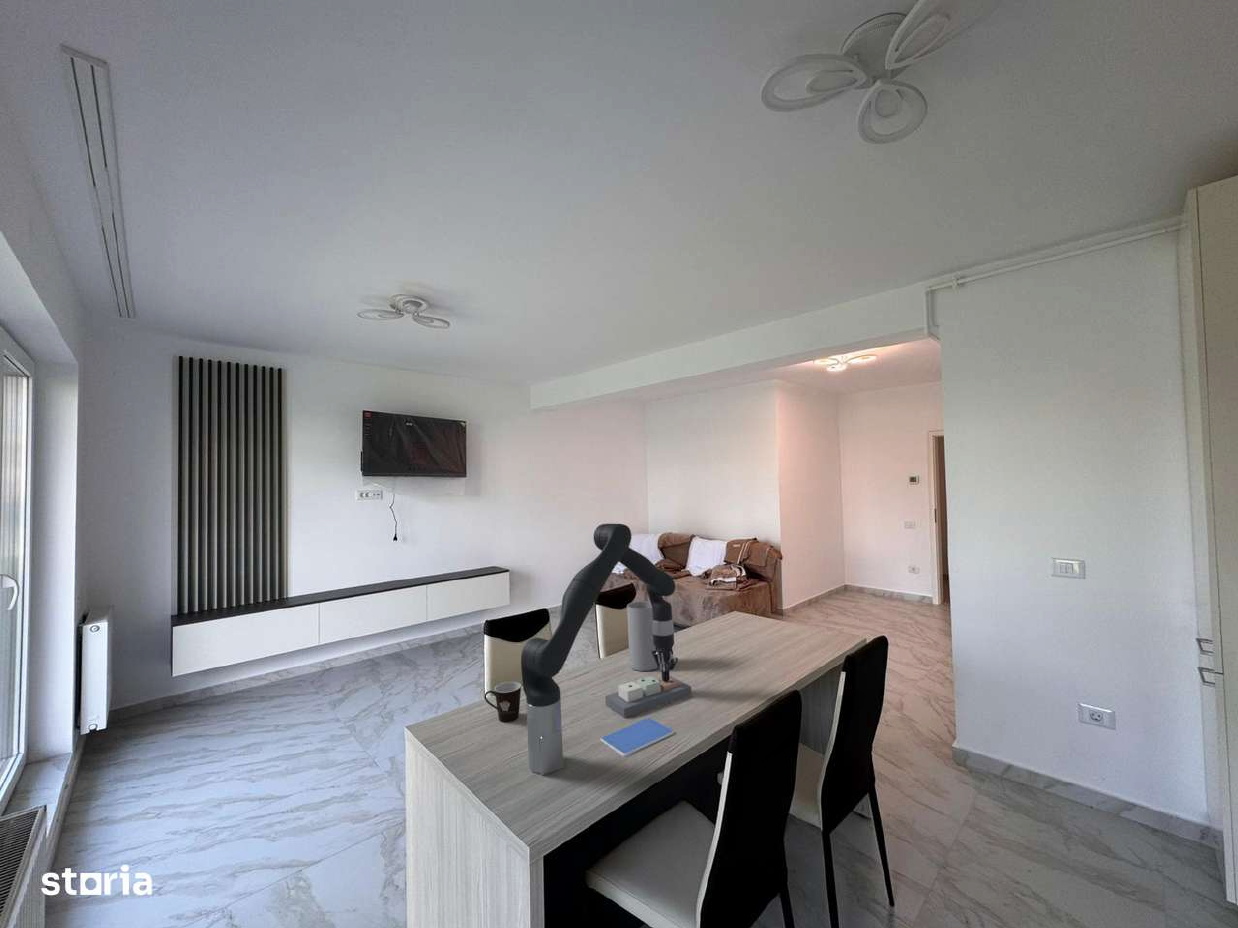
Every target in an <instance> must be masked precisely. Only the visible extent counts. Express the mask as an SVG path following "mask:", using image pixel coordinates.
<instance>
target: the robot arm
mask: <svg viewBox="0 0 1238 928" xmlns="http://www.w3.org/2000/svg"><path fill="white" fill-rule="evenodd" d="M631 541H632V531H631V528H630V527H629V526H628V525H626V524H623V523H602V524H600V525H598V526H597V527H596V528H595V530H594V532H593V543H594V545H595V546H596V548H597V549H598V550H600V551H601V552H600V553H599V554H598V555H597V557H595V559H593V560H592V561H590V562H589V563H588V564H587V565H586V566H584V567H583V568H581V570H579V571H578V572H577V573H576V574H575V575H574V577H573V578H572V580H571V581H570V583H569V584H568V586H567V588H566V590H565V591H564V594H563V596H562V599H561V600H562V601H561V609H560V610H561V613H560V619H559V622H558V625H557V626H556V629H555V631H554V633H553V634H552V635H551V637H550V639H545V638H543V637H542V638H541V637H533V638H531V639H529V640H528V641H527V642H526V643H525V644H524V646H523V648H522V651H521V656H520V657H521V658H520V667H521V668H520V669H521V680H522V689H523V693H524V694H525V699H526V722H527V723H526V724H527V725H526V727H527V750H528V768H529V770H530V771H532V772H534V773H536V774H540V775H541V776H544V775H547V774H550V773H552V772H555V771H558V770H560V769H563V768H564V753H563V752H564V749H563V730H562V729H563V727H562V703H561V702H562V701H561V688H560V686H559V685H558V683H557V682H556V681H555V680H554V677H555V676H557V675H558V674H559V673H560V671H561V670H562V669H563V667H564V665H565V663H566V661H567V659H568V657H569V655H570V653H571V650H572V647H573V645H574V642H575V640H576V638H577V636H578V633H579V631H580V629H581V628H582V626H583V625H584V622H585V620H586V618H587V617H588V614H589V613H590V611H591V610H592V608H593V606H594V604H595V603H596V600H597V599H598V597H599V595H600V593H601V591H602V589H603V587H604V586H605V584H606V583H607V581H608V579H609V578H610V576H611V574H612V572H613V570H615V567H616V566H617V565H618V563H620V564H621V565H622V566H624V567H625V568H627V569H628V570H629V571H630V572H631V573H632V574H633V575H635V576H636V577H637V578H638V579H639V580H640V581H641V582H642V583H644V584H645V585H646V587H645V588H646V592H647V597H648V598H649V602H650V603H651V606H652V614H653V624H652V627H653V644H654V646H655V650H654V651H652V654H653V657H654V659H655V662H656V664H657V666H658V668H659V669H660V671H661V679H662V681H664V682H667V681H669V679H670V676H671V675H670V671H673V670H674V669H675V666H677V663H678V661H679V660H678V657H675V656H674V650H673V647H674V645H675V634H674V633H675V631H674V630H675V629H674V621H673V610H672V609H673V607H672V604H671V603H670V602H669V601H667V600H665V599H664V597H671V596H672V595H673V594H674V593H675V591H676V583H675V580H674V579H673V577H672V576H671V575H670V574H668V573H666V572H665V571H663V570H662V569H659V568H658V567H656V565H655V564H654V563H653V562H652V561H651V560H650V559H649V558H648V557H646V556H645V555H643V554H641V553H639V552H638V551H636V550H634V549H632V548H630V545H631Z"/></svg>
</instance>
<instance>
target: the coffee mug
mask: <svg viewBox="0 0 1238 928" xmlns="http://www.w3.org/2000/svg"><path fill="white" fill-rule="evenodd" d="M521 692H522V684H521V683H520V682H517V681H506V682H501V683H500V684H498V685H496V686H495V687H494V690H488V691H486V692H485V693H484V701H486V703H488V704H487V705H489V706H491V707H492V708H493V709H495V710H496V711H497V716H498V721H500V722H501V723H503V724H504V723H513V722H515V721H517V720H518V719H519V716H520V707H521V706H520V704H521V703H520V702H521ZM488 694H493V696H494V697H495V701H496V703H495V704H496V705H495V704H493V703H491V702H490V701H489V700H488V699H487V695H488Z"/></svg>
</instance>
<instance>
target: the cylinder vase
mask: <svg viewBox="0 0 1238 928" xmlns="http://www.w3.org/2000/svg"><path fill="white" fill-rule="evenodd" d="M626 612H627V631H628V635H627V636H628V653H629V656H628V657H629V667H630V668H631V669H632V670H634V671H637V672H649V671H654V670H656V669H658V668H659V667H658V666H657V664H656V662H655V659H654V657H653V654H652V651H654V650H655V646H654V644H653V627H652V624H653V614H652V606H651V603H650V601H634V602H630V603H628V604H627V605H626Z"/></svg>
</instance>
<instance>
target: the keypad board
mask: <svg viewBox="0 0 1238 928" xmlns="http://www.w3.org/2000/svg"><path fill="white" fill-rule="evenodd" d="M670 678H671V679H673V680H675V681H677V682H678V687H675V688H672V689H669V690H666V691H663V690H661V692H659V693H656V694H652V695H649V696H645V695H643V698H640V699H637V700H634V701H631V702H627V701H625V700H624V699H622V698H620V697H619V694H618V692H614V693H610V694H607V695H605V697H604V698H605V706H606V707H608V708H609V709H610V710H612V711H613V712H615V713H616V714H618V715H619V716H621V717H622V718H624V719H626V718H630V717H632V716H634V715H637V714H642V713H644V712H647V711H649V710H652V709H656V708H658V707H661V706H663V705H667V704H670V703H672V702H675V701H678V700H682V699H684V698H687V697H690V696H692V686H691V685H689V684H687V683H685V682H683V681H681V680H679V679H677V678H675V677H673V676H671V675H670Z"/></svg>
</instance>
